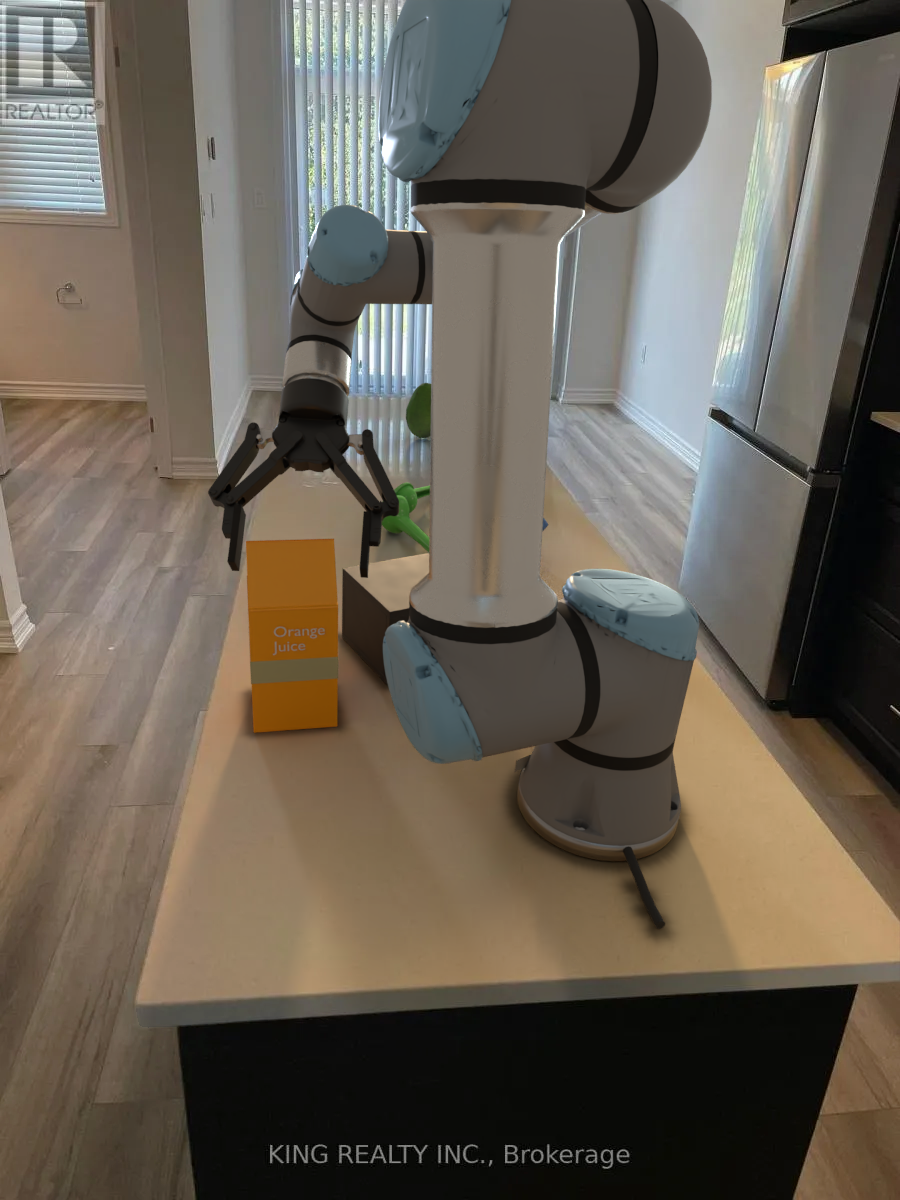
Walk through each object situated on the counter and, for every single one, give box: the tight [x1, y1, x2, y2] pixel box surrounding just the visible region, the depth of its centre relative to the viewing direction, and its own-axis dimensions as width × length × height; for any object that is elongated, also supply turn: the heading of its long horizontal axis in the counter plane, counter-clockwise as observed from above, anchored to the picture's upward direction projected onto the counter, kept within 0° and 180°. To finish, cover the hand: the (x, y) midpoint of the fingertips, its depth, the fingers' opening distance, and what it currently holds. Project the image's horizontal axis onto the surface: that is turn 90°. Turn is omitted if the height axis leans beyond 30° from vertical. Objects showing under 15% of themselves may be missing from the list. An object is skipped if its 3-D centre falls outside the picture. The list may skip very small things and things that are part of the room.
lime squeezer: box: [381, 481, 430, 553], centre depth 143 cm, size 34×12×6 cm, turn 1°
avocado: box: [405, 382, 431, 439], centre depth 188 cm, size 8×8×12 cm
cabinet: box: [341, 552, 429, 687], centre depth 105 cm, size 15×13×10 cm
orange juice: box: [245, 538, 339, 734], centre depth 89 cm, size 8×9×20 cm
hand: (298, 570), depth 90 cm, fingers open, 13 cm apart
